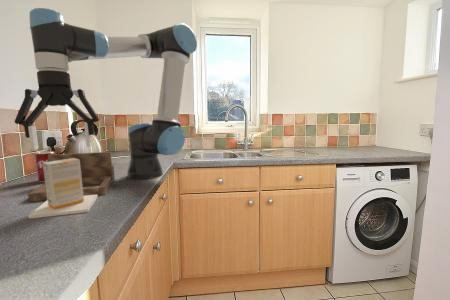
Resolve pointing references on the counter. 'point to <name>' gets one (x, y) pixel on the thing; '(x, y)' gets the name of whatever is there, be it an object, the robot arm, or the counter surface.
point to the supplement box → (63, 182)
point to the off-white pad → (64, 208)
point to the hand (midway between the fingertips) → (62, 147)
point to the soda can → (39, 160)
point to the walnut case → (85, 173)
